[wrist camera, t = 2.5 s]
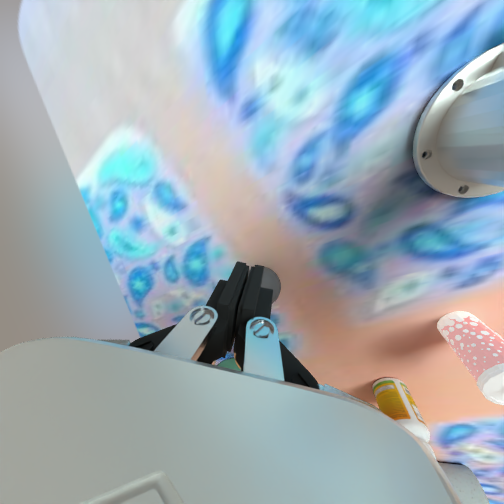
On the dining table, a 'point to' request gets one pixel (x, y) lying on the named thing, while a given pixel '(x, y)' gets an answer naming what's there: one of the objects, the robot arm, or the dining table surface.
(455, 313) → the beverage cup
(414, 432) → the supplement bottle
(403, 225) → the dining table surface
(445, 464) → the ceramic mug
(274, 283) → the charcoal cue ball
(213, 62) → the dining table surface
